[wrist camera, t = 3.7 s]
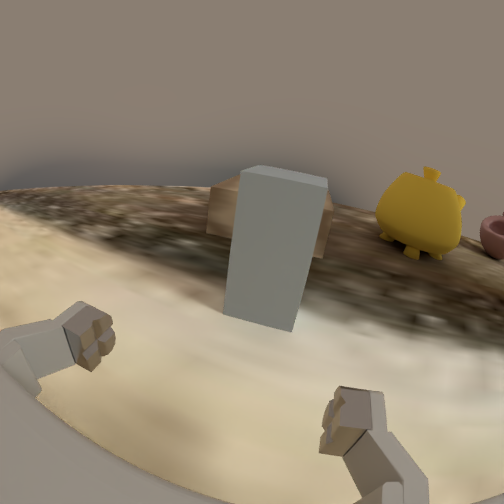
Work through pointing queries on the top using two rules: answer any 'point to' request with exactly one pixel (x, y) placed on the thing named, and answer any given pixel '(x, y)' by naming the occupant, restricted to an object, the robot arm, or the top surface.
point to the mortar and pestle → (493, 236)
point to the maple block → (225, 208)
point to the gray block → (273, 244)
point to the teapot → (421, 214)
